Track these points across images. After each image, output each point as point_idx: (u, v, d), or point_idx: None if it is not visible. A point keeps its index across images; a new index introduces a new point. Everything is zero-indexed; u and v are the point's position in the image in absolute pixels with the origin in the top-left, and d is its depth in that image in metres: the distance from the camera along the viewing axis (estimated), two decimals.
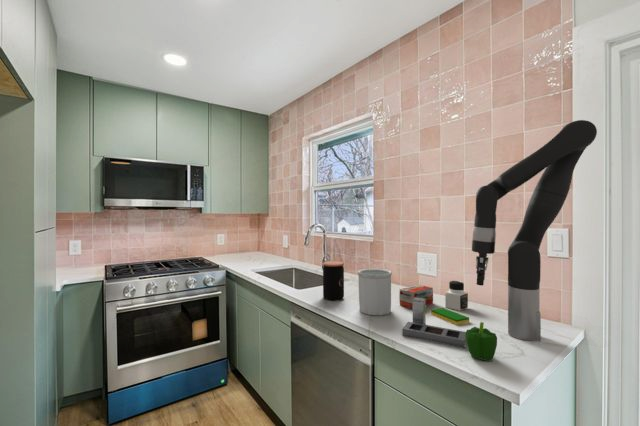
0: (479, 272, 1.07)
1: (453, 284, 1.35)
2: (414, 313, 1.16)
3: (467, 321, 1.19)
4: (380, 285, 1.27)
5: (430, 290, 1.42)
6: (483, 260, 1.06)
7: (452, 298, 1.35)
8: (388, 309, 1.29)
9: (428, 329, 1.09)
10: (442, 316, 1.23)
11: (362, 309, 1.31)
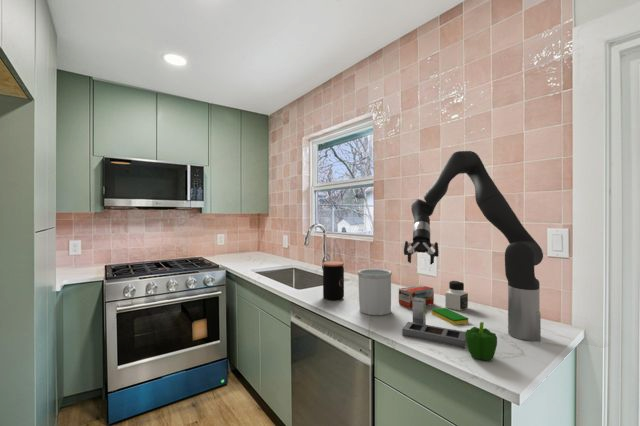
0: (404, 252, 1.33)
1: (453, 284, 1.35)
2: (414, 313, 1.16)
3: (466, 321, 1.18)
4: (380, 285, 1.27)
5: (430, 290, 1.42)
6: (405, 243, 1.36)
7: (452, 298, 1.35)
8: (388, 309, 1.29)
9: (428, 329, 1.09)
10: (441, 316, 1.23)
11: (362, 309, 1.31)
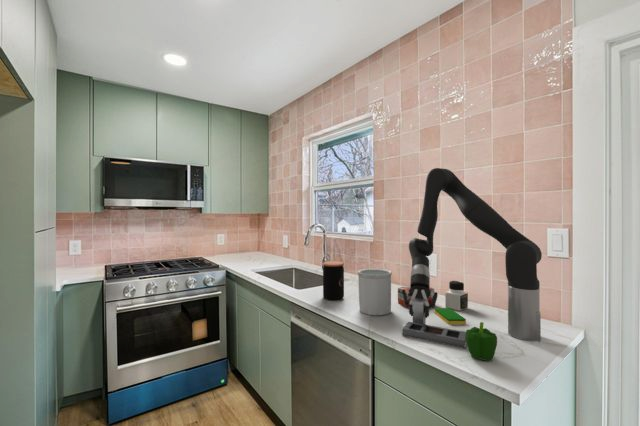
0: (405, 303, 1.20)
1: (453, 284, 1.35)
2: (414, 313, 1.16)
3: (463, 322, 1.17)
4: (380, 285, 1.27)
5: None
6: (402, 292, 1.23)
7: (452, 298, 1.35)
8: (388, 309, 1.29)
9: (428, 329, 1.09)
10: (440, 315, 1.24)
11: (362, 309, 1.31)
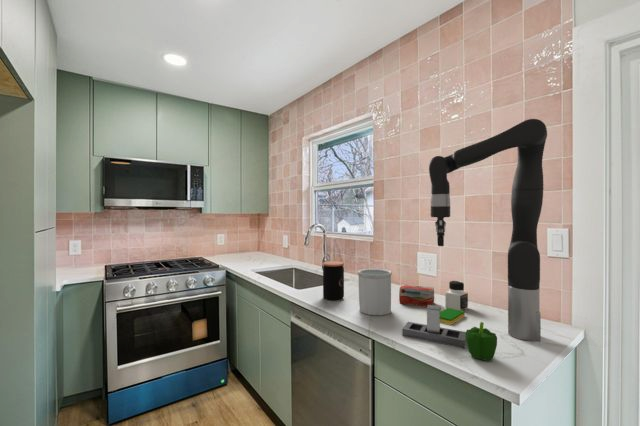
0: (439, 234, 1.17)
1: (453, 284, 1.35)
2: (429, 323, 1.04)
3: (447, 322, 1.18)
4: (380, 285, 1.27)
5: (427, 292, 1.38)
6: (442, 222, 1.17)
7: (452, 298, 1.35)
8: (388, 309, 1.29)
9: None
10: None
11: (362, 309, 1.31)
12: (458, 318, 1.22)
